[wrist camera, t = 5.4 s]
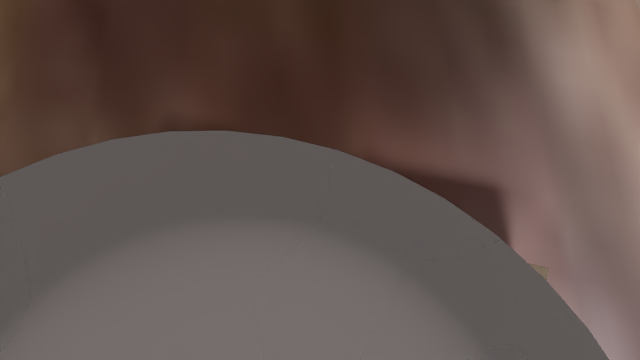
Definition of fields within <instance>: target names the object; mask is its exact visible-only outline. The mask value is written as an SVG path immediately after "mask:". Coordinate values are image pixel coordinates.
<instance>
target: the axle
mask: <svg viewBox="0 0 640 360" xmlns="http://www.w3.org/2000/svg"><path fill="white" fill-rule="evenodd" d="M0 360H609V359H608V357H607V356H606V354H605V353H604V351H603V350H602V349H601V347H600V346H599V344H598V343H597V341H596V340H595V338H594V337H593V335H592V334H591V332H590V331H589V330H588V328H587V327H586V326H585V325H584V323H583V322H582V321H581V320H580V319H579V318H578V317H577V315H576V314H575V313H574V312H573V311H572V310H571V308H570V307H569V306H568V305H567V304H566V303H565V302H564V300H563V299H562V298H561V297H560V296H559V295H558V294H557V292H556V291H555V290H554V289H553V288H552V287H551V285H550V284H549V283H548V282H547V281H546V280H545V279H544V277H542V276H541V275H540V274H539V273H538V272H537V271H536V270H535V269H534V268H533V267H531V266H530V265H529V264H528V263H527V262H526V261H525V260H524V259H523V258H521V257H520V256H519V255H518V254H517V253H516V252H515V251H514V250H513V249H512V248H510V247H509V246H508V245H507V244H506V243H505V242H504V241H503V240H502V239H500V238H499V237H498V236H497V235H496V234H495V233H493V232H492V231H490V230H489V229H487V228H486V227H485V226H483V225H482V224H480V223H479V222H478V221H476V220H475V219H473V218H472V217H470V216H469V215H468V214H466V213H465V212H463V211H462V210H460V209H459V208H458V207H456V206H455V205H453V204H452V203H451V202H449V201H448V200H446V199H445V198H443V197H441V196H439V195H437V194H435V193H433V192H431V191H430V190H428V189H426V188H424V187H422V186H420V185H418V184H416V183H415V182H413V181H411V180H409V179H407V178H405V177H403V176H401V175H399V174H398V173H396V172H394V171H392V170H389V169H386V168H384V167H381V166H378V165H376V164H373V163H371V162H368V161H365V160H363V159H360V158H357V157H355V156H352V155H350V154H347V153H344V152H342V151H339V150H335V149H331V148H327V147H323V146H319V145H314V144H310V143H306V142H302V141H298V140H294V139H290V138H286V137H280V136H271V135H262V134H253V133H244V132H235V131H169V132H162V133H154V134H147V135H140V136H133V137H126V138H119V139H112V140H108V141H105V142H101V143H97V144H93V145H90V146H86V147H82V148H78V149H75V150H71V151H67V152H64V153H60V154H56V155H54V156H51V157H49V158H46V159H44V160H41V161H39V162H36V163H34V164H31V165H29V166H26V167H24V168H21V169H19V170H16V171H14V172H11V173H9V174H6V175H4V176H1V177H0Z"/></svg>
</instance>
